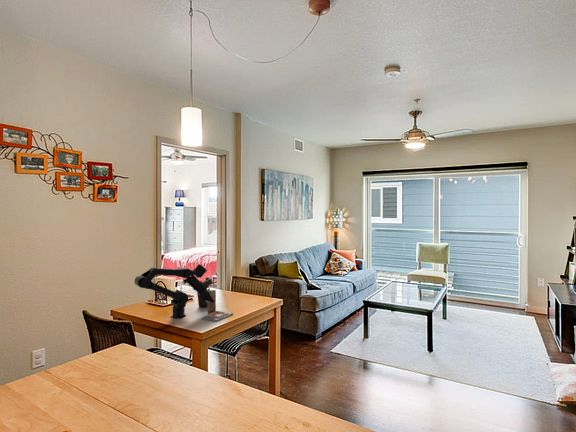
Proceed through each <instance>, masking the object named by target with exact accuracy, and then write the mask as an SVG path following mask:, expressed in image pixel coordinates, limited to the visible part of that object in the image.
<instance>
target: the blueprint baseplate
mask: <svg viewBox="0 0 576 432" xmlns="http://www.w3.org/2000/svg"><path fill="white" fill-rule="evenodd" d="M233 315H234V312H230V311H224V310H216V311H215V312H212V313H207V315H205V316H202V317H201V320H204V321H209V322H215V323H218V322H220V321H221V320H224V319H227V318H228V317H231V316H233Z"/></svg>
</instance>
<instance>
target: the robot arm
mask: <svg viewBox="0 0 576 432" xmlns="http://www.w3.org/2000/svg"><path fill="white" fill-rule="evenodd" d="M207 272H208V270H207V269H206V267H204V266H203V265H201V264H200V263H199V264H197V265H196V267H195V268H194V269H190V268H187V267H178V268H164V267H162V268H161V267H151V268H149V269H148V270H147V271H144V272H143V273H141V275H138V276H136V277H135V278H134V285H135V286H137V287H139V288H141V289H146V290H152V291H154V292H157V293H159V294H162V295H165V296H167V297H169V298H171V299H172V300H171V302H170V305H171V306H172V315H171V316H170V318H173V319H180V318H183V317H186V316H187V314H185V308H186V305H187V303H188V301H189V296H188V294H187V293H186V292H184V291H182V290H179V289H176V290H171V289H168V288H166V287H164V286H161V285H159V284H157V283H154V281H152V280H154V278H155V277H156V276H170V277H171V276H173V277H174V276H175V277H180V278H183V279H182V284H183V285H185V284H188V286H190V287H191V288H192V290H193V291H195V292H196V293H197V292H198V294H199V299H200V300H206V301H210V302H213V303H214V300H213V299H212V297H211V296H210V295H209V291H208V290H211V289H210V286H211V285H213V284H214V281H213V280H212V278H211V277H208V276H207V277H206V278H205V280H203V281H202V280H199V278H200V279H201V278H202V277H203V276H204V275H205V274H206V273H207Z"/></svg>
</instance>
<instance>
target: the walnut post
mask: <svg viewBox="0 0 576 432" xmlns="http://www.w3.org/2000/svg"><path fill="white" fill-rule="evenodd" d="M208 291H209V295H210V296H211V297H212V299H213V300H214V303H213V302H210V301H207V310H206V311H207V314H210V313H212V312H215V311H217V308H216V307H217V303H216V302H217V294H216V293H217V292H216V289H210V290H208Z"/></svg>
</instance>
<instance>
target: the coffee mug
mask: <svg viewBox="0 0 576 432" xmlns="http://www.w3.org/2000/svg"><path fill="white" fill-rule="evenodd" d="M196 293H197V294H196V296H197V301H198V302H197V303H198V308H200V309H206V308H207V301H206V300H200V299H199V294H198V292H197V291H196Z"/></svg>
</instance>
